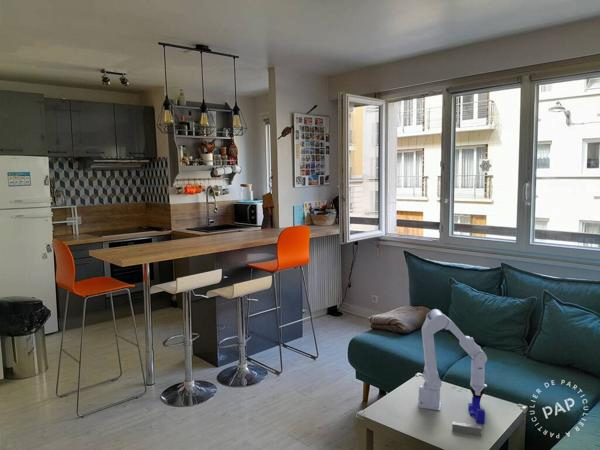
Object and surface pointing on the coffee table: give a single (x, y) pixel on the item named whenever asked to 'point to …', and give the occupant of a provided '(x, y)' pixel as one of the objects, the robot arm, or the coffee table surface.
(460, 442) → the coffee table surface
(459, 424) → the socket strip
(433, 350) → the robot arm
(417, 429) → the coffee table surface
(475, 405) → the cable clip
